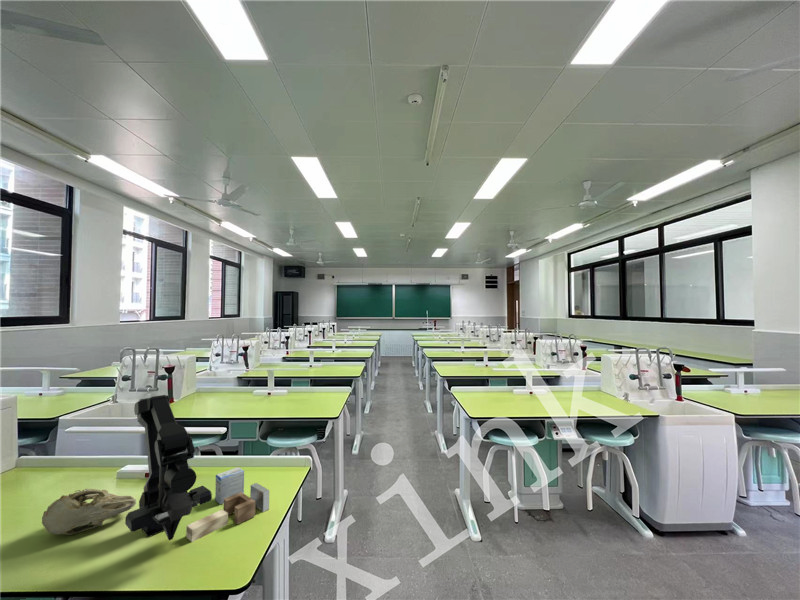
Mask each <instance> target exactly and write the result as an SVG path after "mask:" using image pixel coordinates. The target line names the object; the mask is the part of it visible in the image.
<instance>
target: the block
mask: <svg viewBox="0 0 800 600" xmlns="http://www.w3.org/2000/svg"><path fill="white" fill-rule="evenodd" d="M228 525H229V515H228V513H227V512H226V511H224V510H223V509H220V510H217V511H216V512H213V513H211V514H209V515H207V516H205V517H203V518H202V517H201V518H200V519H198V520H196V521H194V522H192V523H189V524H187V525H186V530H185V531H186V537H185V538H186V539H188V540H189V542H191V543H193V542H195V541H197V540H199V539H202V538H203V537H205V536H208V535H209V534H212V533H213V532H215V531H218V530H219V529H221V528H224V527H225V526H228Z"/></svg>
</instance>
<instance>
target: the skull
mask: <svg viewBox="0 0 800 600" xmlns="http://www.w3.org/2000/svg"><path fill="white" fill-rule="evenodd" d="M88 500H92V501H90V502H88ZM136 504H137V499H135V498H134V497H133V496H131V495H116V494H113V493H109V491H108V490H107V489H96V488H95V489H94V488H85V489H82V490H80V489H78V490H75V491H74V492H73V493H69V494H68V495H61V496H60V498H58V499H56V500H55V501H53V502H52V503H51V504H50V505H49V506H48V507H47V509H46V510H45V511H44V512H43V514H42V517H41V524H42V526H43V527H44V528H45V530H46V531H47V532H48V533H51V535H52V534H53V535H67V536H73V535H75V534H78V533H82V532H85V531H88V530H92V529H95V528H96V527H100V526H102V525H103V524H104V523H103V522H104V521H106V520H107V519H110V518H112V517H115V516H118V515H120V514H122V513H125V512H127V511H129V510H131V509H133V507H135V505H136ZM90 523H92V524H90ZM77 527H78V528H77Z"/></svg>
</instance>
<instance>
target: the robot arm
mask: <svg viewBox="0 0 800 600" xmlns="http://www.w3.org/2000/svg"><path fill="white" fill-rule="evenodd" d="M170 402H171V401H170V396H169V395H168V394H162V395H154V396H153V395H152V396H150V397H147V398H145V397H144V398H140V399H139V400H138V401H137V402H135V404H134V406H133V407H134V409H133V410H134V411H133V413H134V415H135V416H136V417H137V422H138V423H139V424H140V425H141V426H142V427H143V428H144V433H145V443H146V444H145V445H146V455H147V465H148V474H149V475H148V478H147V480H146V482H145V484H144V486H143V492H142V493H141V495H140V497H139V501H138V507H139V508H138V509H135V510H132V511H129V512H128V513H127V514H126V516H125V522H124V524H125V525H126V527H127V528H128V530H129V531H130V532H133V533H134V532H136V531H139V530H142V531H143V533H144V534H145V535H146V536H147V537H148V538H149V537H152V536H155V535H157V534H159V533H162V532H163V531H164V532H165V536H166V537H167V539H168V540H169V541H171V540H173V539H174V537H175V535H176V531H177V529H178V526H179V524H180V522H181V520H182V519H183V517H185V516H189V515H190V514H191V513H192V509H193V508H195V507H197V506H198V505H204V504H206V503H209V502H211V501H212V498H213V493H212V491H211V490H210V489H209V488H207V487H206V486H204V485H201V486H198V487H195V488H193V486H194V485H195V483H196V481H197V474H196V471H195V470H194V469H193V468H192V467H191V466H190V465H189V463H188V460H191V459H193V458H195V451H196V450H195V445H194V442H193V439H192V436H191V434H190V433H189V432H188V431H187V429H186V427H185V426H183V425H181V424H179V423H177V420H176V418H175V415H174V413H173V410H172V408H171V403H170ZM191 488H192V489H191Z"/></svg>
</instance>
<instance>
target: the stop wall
mask: <svg viewBox="0 0 800 600" xmlns="http://www.w3.org/2000/svg"><path fill="white" fill-rule="evenodd" d="M249 494H250V496H249V497H250V498H251V499H253V500H254V501H255V509H258V510H260V511H261V512H262V513H265V512H266V511H269V509H270V489H268V488H266V487H265V486H262V485H261V484H259V483H258V482H255V483H252V484H250V493H249Z"/></svg>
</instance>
